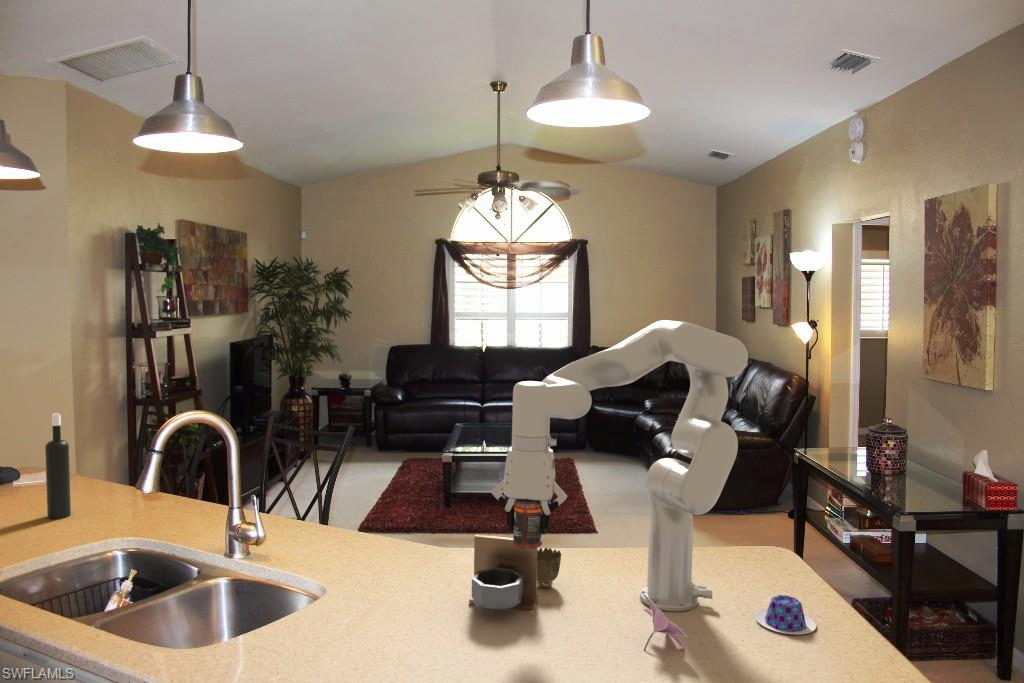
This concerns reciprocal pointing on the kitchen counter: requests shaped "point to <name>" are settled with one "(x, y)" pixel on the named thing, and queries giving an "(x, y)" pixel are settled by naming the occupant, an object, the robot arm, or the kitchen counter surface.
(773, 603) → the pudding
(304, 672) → the kitchen counter surface
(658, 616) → the lily
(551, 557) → the cup
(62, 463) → the wine bottle
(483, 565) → the cup bracket
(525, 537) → the supplement bottle
